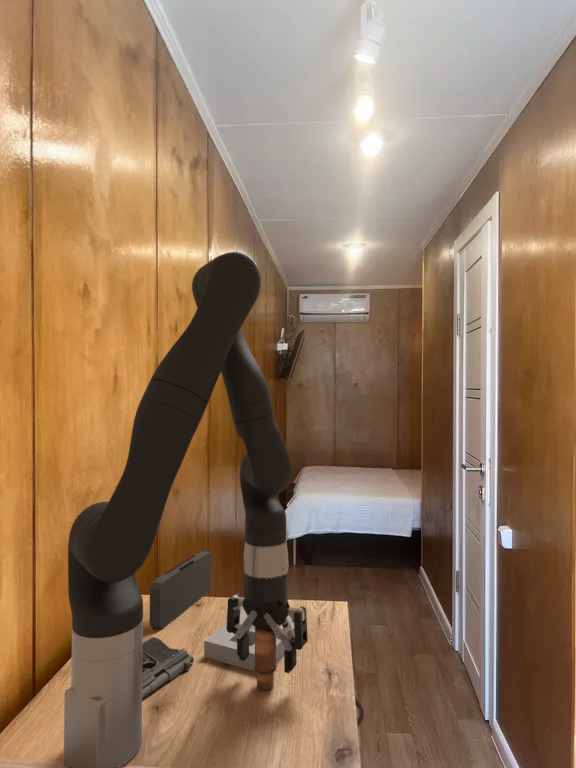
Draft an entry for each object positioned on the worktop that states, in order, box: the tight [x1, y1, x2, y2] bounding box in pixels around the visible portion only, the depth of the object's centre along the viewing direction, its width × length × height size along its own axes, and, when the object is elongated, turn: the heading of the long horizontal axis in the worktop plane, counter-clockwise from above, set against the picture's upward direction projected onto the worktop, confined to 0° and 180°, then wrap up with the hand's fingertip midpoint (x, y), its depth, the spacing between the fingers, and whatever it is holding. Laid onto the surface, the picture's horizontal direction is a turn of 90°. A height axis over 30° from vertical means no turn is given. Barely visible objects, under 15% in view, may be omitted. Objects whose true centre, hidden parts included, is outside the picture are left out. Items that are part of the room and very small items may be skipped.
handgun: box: [142, 636, 195, 699], centre depth 83 cm, size 2×17×12 cm
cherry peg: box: [254, 629, 277, 692], centre depth 80 cm, size 4×4×10 cm
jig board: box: [203, 609, 295, 673], centre depth 95 cm, size 18×13×10 cm
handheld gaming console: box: [149, 551, 212, 630], centre depth 110 cm, size 23×3×10 cm, turn 161°
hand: (266, 664), depth 81 cm, fingers open, 8 cm apart
